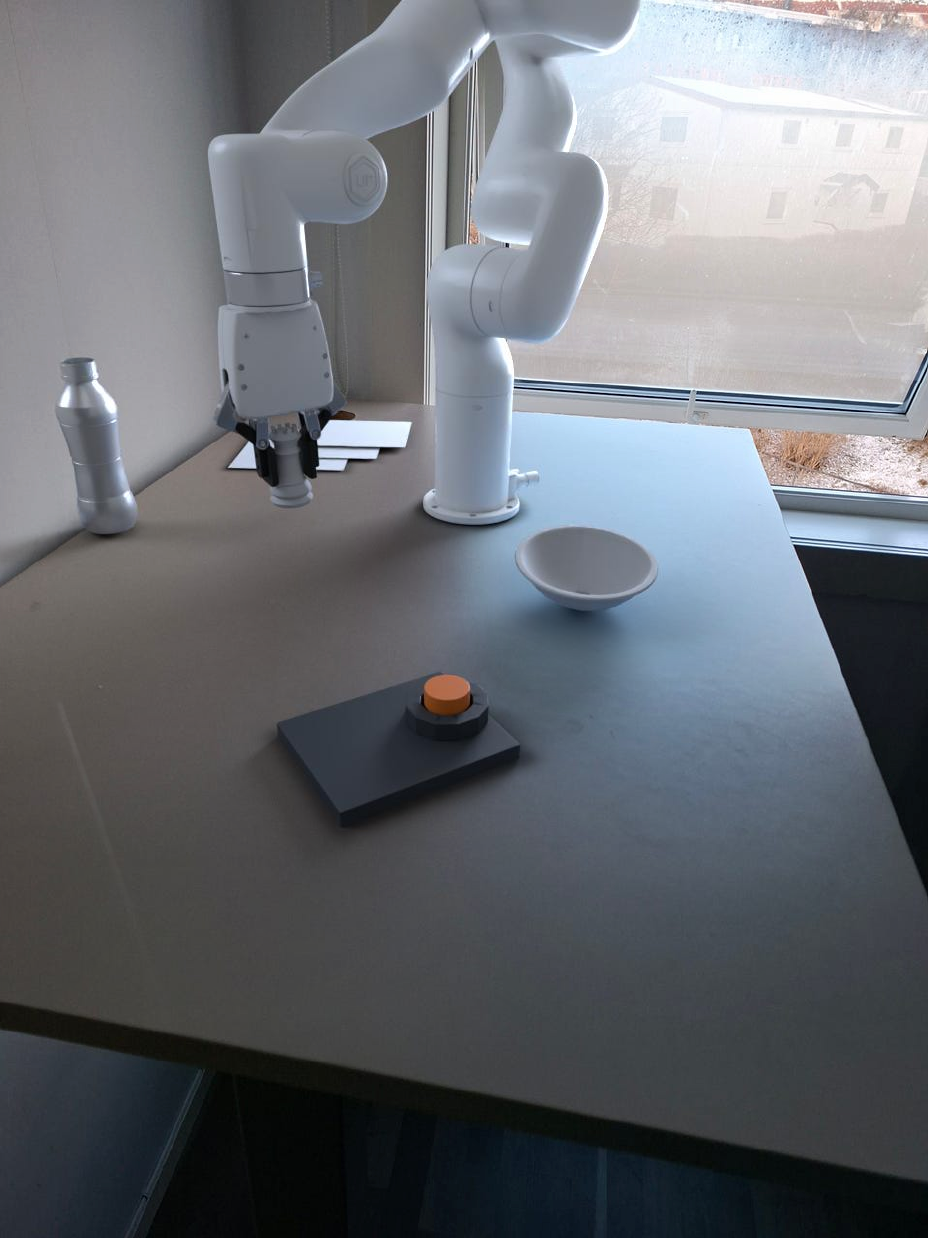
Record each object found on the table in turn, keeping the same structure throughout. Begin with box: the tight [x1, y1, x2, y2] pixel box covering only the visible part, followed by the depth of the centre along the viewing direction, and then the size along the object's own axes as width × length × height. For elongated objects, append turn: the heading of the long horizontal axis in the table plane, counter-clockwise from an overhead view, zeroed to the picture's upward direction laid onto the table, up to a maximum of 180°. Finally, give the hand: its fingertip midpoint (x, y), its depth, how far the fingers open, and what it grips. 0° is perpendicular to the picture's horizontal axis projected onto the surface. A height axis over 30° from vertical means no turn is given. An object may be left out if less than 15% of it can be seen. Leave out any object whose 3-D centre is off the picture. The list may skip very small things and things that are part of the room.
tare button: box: [424, 674, 470, 715], centre depth 66 cm, size 4×4×2 cm
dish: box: [514, 524, 659, 612], centre depth 86 cm, size 18×14×5 cm
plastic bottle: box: [54, 356, 138, 535], centre depth 97 cm, size 6×7×20 cm
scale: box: [276, 671, 521, 828], centre depth 65 cm, size 15×12×3 cm
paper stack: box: [227, 419, 412, 471], centre depth 131 cm, size 23×25×1 cm
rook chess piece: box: [269, 421, 314, 509], centre depth 85 cm, size 4×4×8 cm
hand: (289, 476), depth 86 cm, fingers closed on rook chess piece, 3 cm apart
